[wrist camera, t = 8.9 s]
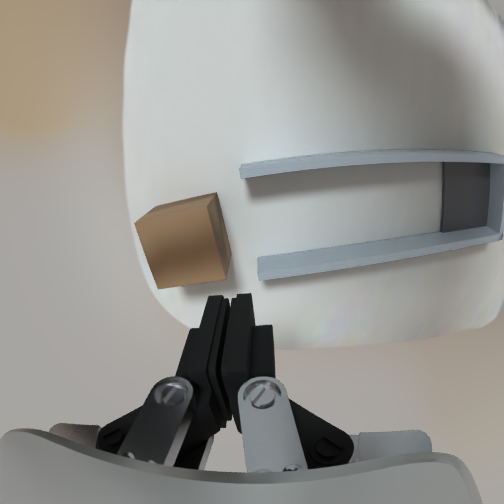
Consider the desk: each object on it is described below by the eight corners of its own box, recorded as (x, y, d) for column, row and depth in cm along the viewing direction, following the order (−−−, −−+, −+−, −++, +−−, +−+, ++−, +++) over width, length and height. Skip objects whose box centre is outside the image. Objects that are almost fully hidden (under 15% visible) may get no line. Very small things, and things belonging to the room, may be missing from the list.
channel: (241, 164, 22) (239, 168, 20) (491, 152, 20) (508, 157, 17) (259, 265, 26) (258, 280, 24) (487, 230, 24) (502, 239, 21)
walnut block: (156, 206, 24) (134, 223, 20) (217, 192, 24) (206, 206, 19) (173, 263, 27) (158, 289, 22) (231, 253, 26) (225, 279, 22)
